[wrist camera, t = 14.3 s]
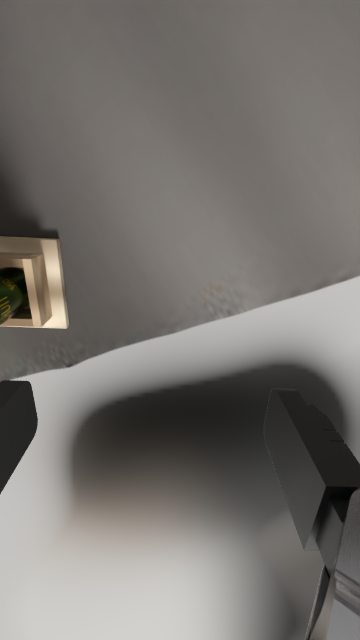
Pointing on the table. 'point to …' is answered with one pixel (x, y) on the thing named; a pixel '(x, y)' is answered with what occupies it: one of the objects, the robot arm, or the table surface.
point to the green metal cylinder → (12, 292)
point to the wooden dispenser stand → (37, 281)
